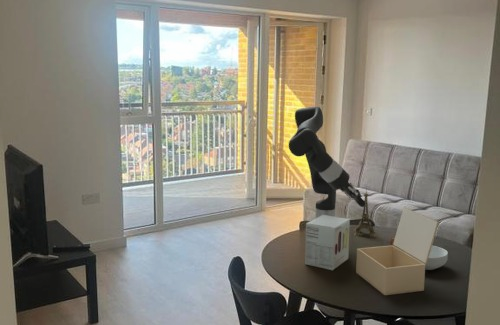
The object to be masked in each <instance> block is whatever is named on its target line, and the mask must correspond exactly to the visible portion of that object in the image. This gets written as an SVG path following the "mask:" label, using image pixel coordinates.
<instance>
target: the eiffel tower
mask: <svg viewBox="0 0 500 325" xmlns="http://www.w3.org/2000/svg"><path fill="white" fill-rule="evenodd" d="M365 188H366V189H365V193H364V194H363V196H364V199H363V200H364V201H365V202H366V204H365V205H364V206H363V207H362V208H363V209H362V213H361V219H360V221H359V223H358V225H357V226H356V227H355V228H354V230H353V232H354V233H353V236H354V237H360V233H361V231H362V229H367V230H368V232H369V238H376V231H375V229H374V227H373V226H372V225H371V224H372V223H371V221H370V219H369V217H370V214H369V211H368V209H369V207H368V203H369V202H368V197H369V193H367V190H368V189H367V185H366V186H365ZM364 219H365V220H366V221H364Z"/></svg>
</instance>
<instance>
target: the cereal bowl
mask: <svg viewBox="0 0 500 325" xmlns="http://www.w3.org/2000/svg"><path fill="white" fill-rule="evenodd" d="M405 253H406V252H405ZM407 254H408V253H407ZM408 255H410V254H408ZM410 256H411V255H410ZM448 256H449V253H448V251H447V250H446V249H444V248H442V247H440V246H436V245H433V244H432V248H431V251H430V254H429V258H428V261H427V264H425V263H424V264H425V271H433V270H435V269H438V268H441V267H443V266H444V265H445V264H446V263H447V261H448ZM412 257H413V256H412ZM413 258H415V257H413ZM415 259H417V258H415ZM417 260H418V259H417ZM419 261H420V260H419ZM420 262H422V261H420ZM422 263H423V262H422Z"/></svg>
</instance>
